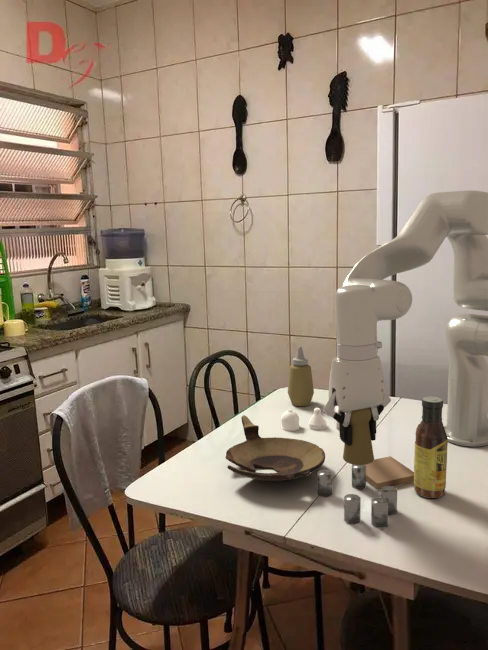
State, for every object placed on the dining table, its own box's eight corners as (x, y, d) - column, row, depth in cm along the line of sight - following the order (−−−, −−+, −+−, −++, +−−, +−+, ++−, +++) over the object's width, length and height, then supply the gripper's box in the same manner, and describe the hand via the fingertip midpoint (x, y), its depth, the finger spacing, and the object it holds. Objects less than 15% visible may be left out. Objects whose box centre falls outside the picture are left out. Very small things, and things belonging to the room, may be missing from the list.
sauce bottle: (441, 502, 107) (445, 407, 103) (409, 495, 110) (411, 402, 106) (448, 488, 112) (452, 397, 109) (418, 481, 116) (420, 392, 112)
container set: (352, 423, 150) (352, 404, 149) (355, 430, 145) (355, 411, 144) (280, 424, 151) (280, 405, 150) (280, 431, 146) (280, 412, 145)
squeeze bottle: (286, 407, 164) (285, 350, 160) (288, 399, 172) (287, 343, 168) (313, 408, 163) (312, 350, 159) (314, 399, 170) (313, 343, 167)
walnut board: (390, 462, 125) (390, 456, 125) (417, 481, 116) (417, 474, 116) (352, 470, 122) (352, 463, 122) (377, 490, 113) (377, 483, 113)
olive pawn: (374, 465, 104) (374, 411, 101) (342, 464, 105) (341, 410, 103) (373, 451, 110) (373, 400, 107) (343, 450, 111) (342, 399, 108)
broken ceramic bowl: (225, 503, 110) (223, 468, 109) (226, 443, 140) (225, 415, 138) (334, 498, 110) (334, 463, 109) (313, 440, 140) (312, 411, 138)
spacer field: (361, 481, 117) (361, 462, 116) (409, 521, 101) (410, 499, 100) (315, 491, 113) (315, 471, 112) (357, 534, 97) (357, 511, 97)
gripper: (383, 340, 109) (384, 426, 113) (307, 352, 104) (310, 441, 107) (406, 349, 102) (406, 439, 106) (325, 362, 97) (328, 456, 100)
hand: (358, 439), depth 106 cm, fingers closed on olive pawn, 4 cm apart
